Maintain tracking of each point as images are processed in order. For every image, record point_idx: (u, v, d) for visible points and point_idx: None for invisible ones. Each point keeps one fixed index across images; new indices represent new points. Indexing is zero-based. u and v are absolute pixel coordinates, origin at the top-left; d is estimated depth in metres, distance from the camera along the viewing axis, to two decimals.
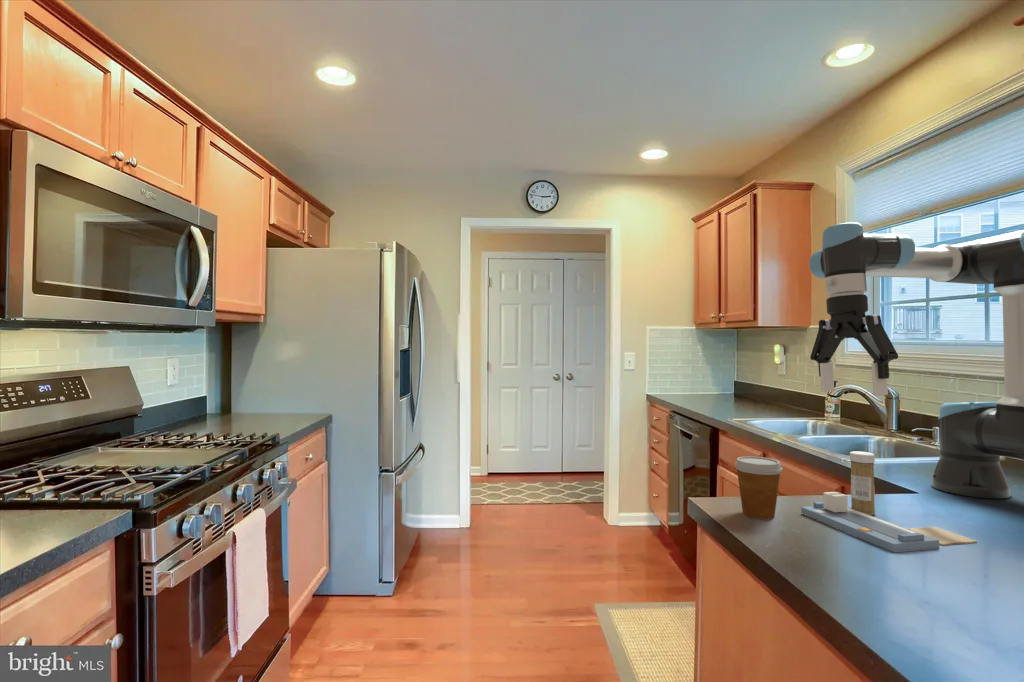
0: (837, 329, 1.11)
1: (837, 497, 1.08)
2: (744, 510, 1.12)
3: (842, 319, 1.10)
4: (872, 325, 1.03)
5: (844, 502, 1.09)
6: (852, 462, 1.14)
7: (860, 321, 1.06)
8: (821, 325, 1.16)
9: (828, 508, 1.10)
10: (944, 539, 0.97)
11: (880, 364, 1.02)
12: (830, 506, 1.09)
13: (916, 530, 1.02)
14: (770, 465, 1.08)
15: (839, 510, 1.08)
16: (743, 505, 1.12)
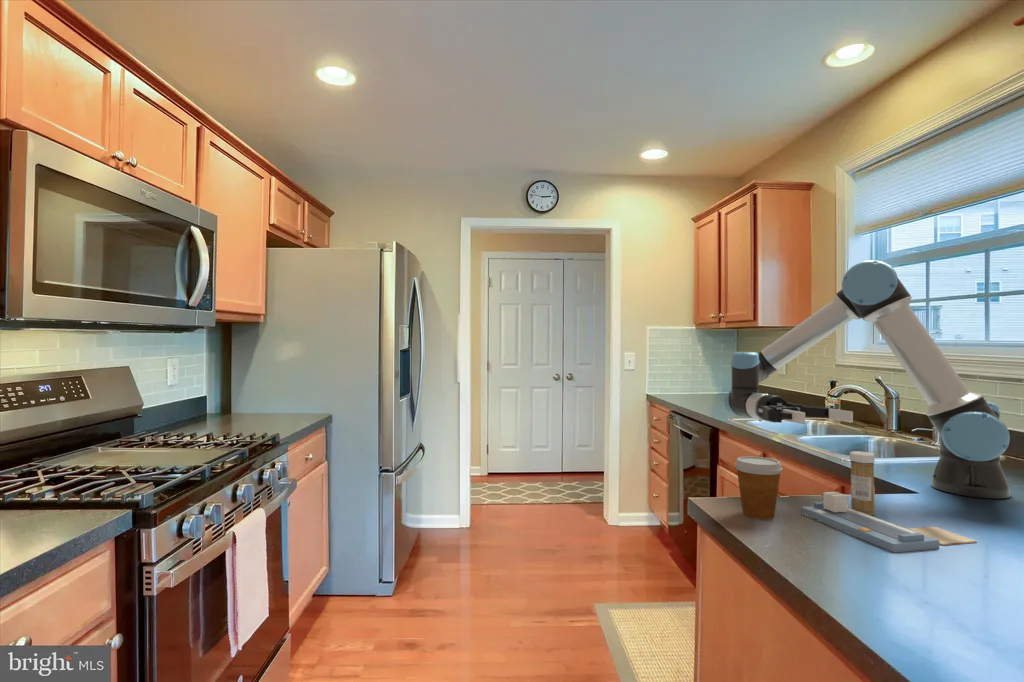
0: None
1: (837, 497, 1.08)
2: (744, 510, 1.12)
3: None
4: (762, 414, 1.36)
5: (844, 502, 1.09)
6: (852, 462, 1.14)
7: None
8: None
9: (828, 508, 1.10)
10: (944, 539, 0.97)
11: (781, 417, 1.28)
12: (830, 506, 1.09)
13: (916, 530, 1.02)
14: (770, 465, 1.08)
15: (839, 510, 1.08)
16: (743, 505, 1.12)
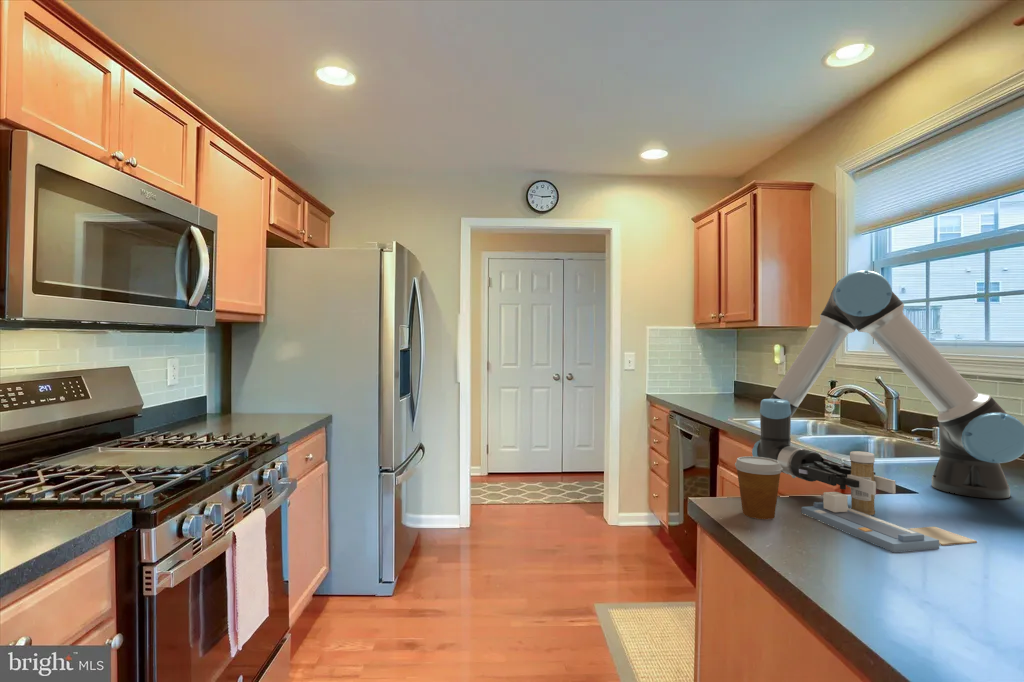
0: None
1: (837, 497, 1.08)
2: (744, 510, 1.12)
3: None
4: (807, 476, 1.22)
5: (844, 502, 1.09)
6: (852, 462, 1.14)
7: None
8: None
9: (828, 508, 1.10)
10: (944, 539, 0.97)
11: None
12: (830, 506, 1.09)
13: (916, 530, 1.02)
14: (770, 465, 1.08)
15: (839, 510, 1.08)
16: (743, 505, 1.12)
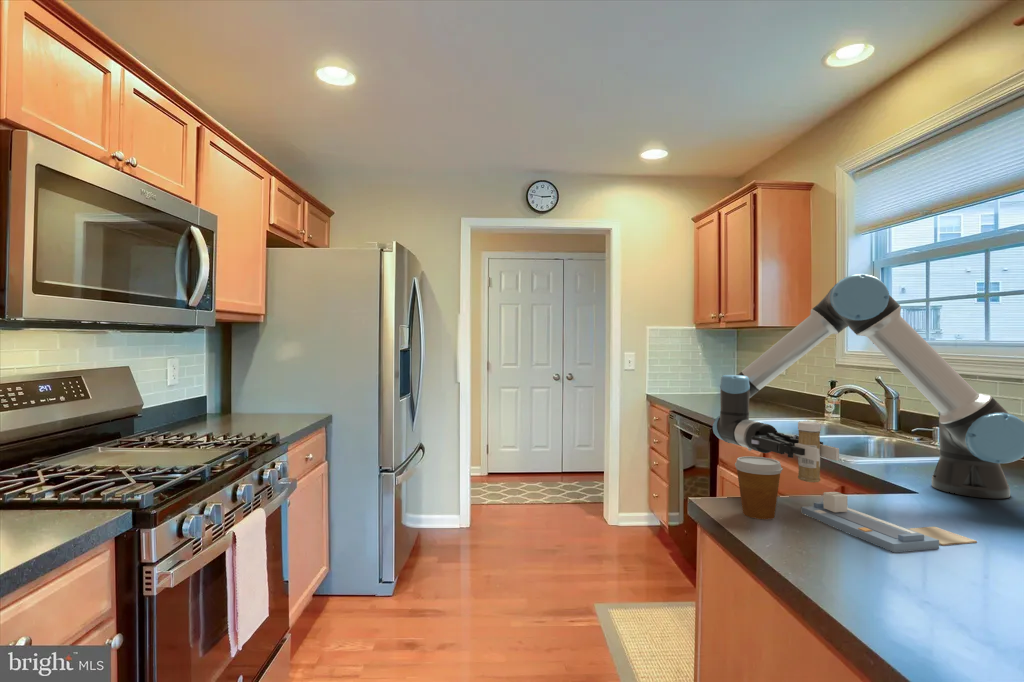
0: None
1: (837, 497, 1.08)
2: (744, 510, 1.12)
3: None
4: (759, 446, 1.25)
5: (844, 502, 1.09)
6: (799, 431, 1.17)
7: None
8: None
9: (828, 508, 1.10)
10: (944, 539, 0.97)
11: None
12: (830, 506, 1.09)
13: (916, 530, 1.02)
14: (770, 465, 1.08)
15: (839, 510, 1.08)
16: (743, 505, 1.12)
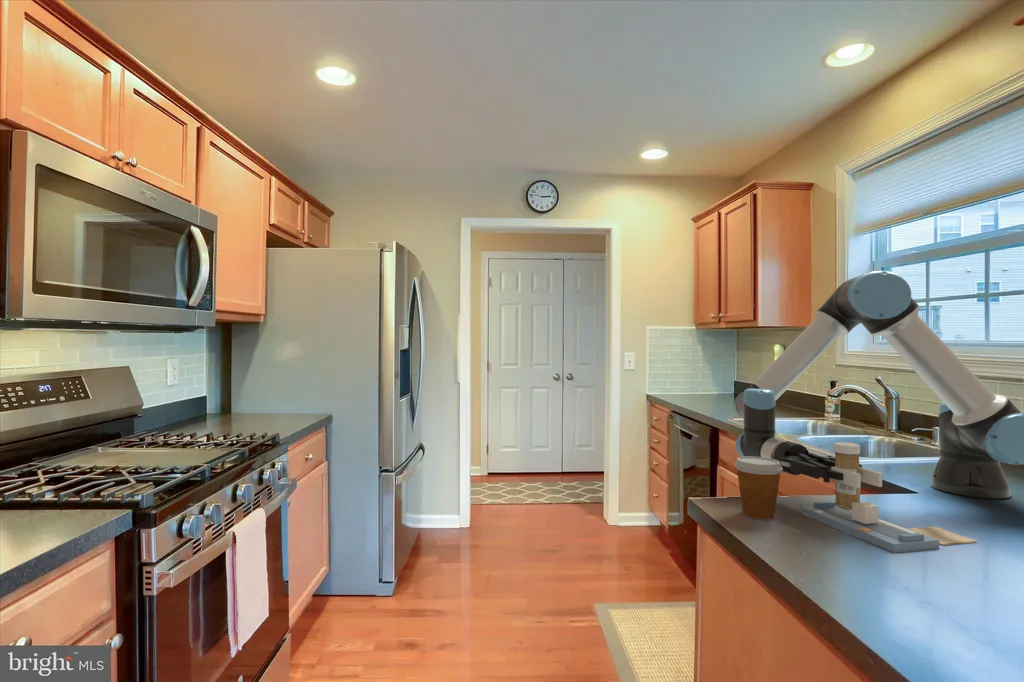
0: None
1: (867, 508, 1.01)
2: (744, 510, 1.12)
3: None
4: (790, 469, 1.14)
5: (875, 513, 1.01)
6: (836, 453, 1.07)
7: None
8: None
9: (857, 519, 1.02)
10: (944, 539, 0.97)
11: None
12: (859, 517, 1.02)
13: (916, 530, 1.02)
14: (770, 465, 1.08)
15: (870, 521, 1.01)
16: (743, 505, 1.12)
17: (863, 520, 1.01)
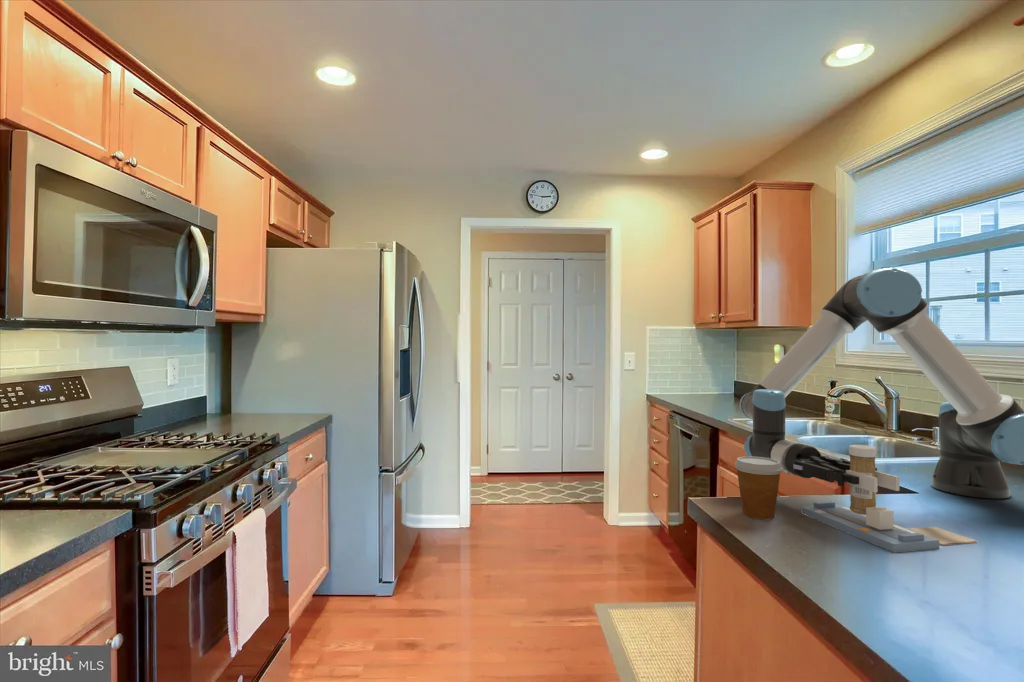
0: None
1: (882, 513, 0.98)
2: (744, 510, 1.12)
3: None
4: (802, 472, 1.11)
5: (890, 518, 0.98)
6: (851, 456, 1.03)
7: None
8: None
9: (872, 525, 0.99)
10: (944, 539, 0.97)
11: None
12: (874, 523, 0.99)
13: (916, 530, 1.02)
14: (770, 465, 1.08)
15: (885, 527, 0.98)
16: (743, 505, 1.12)
17: (878, 526, 0.98)
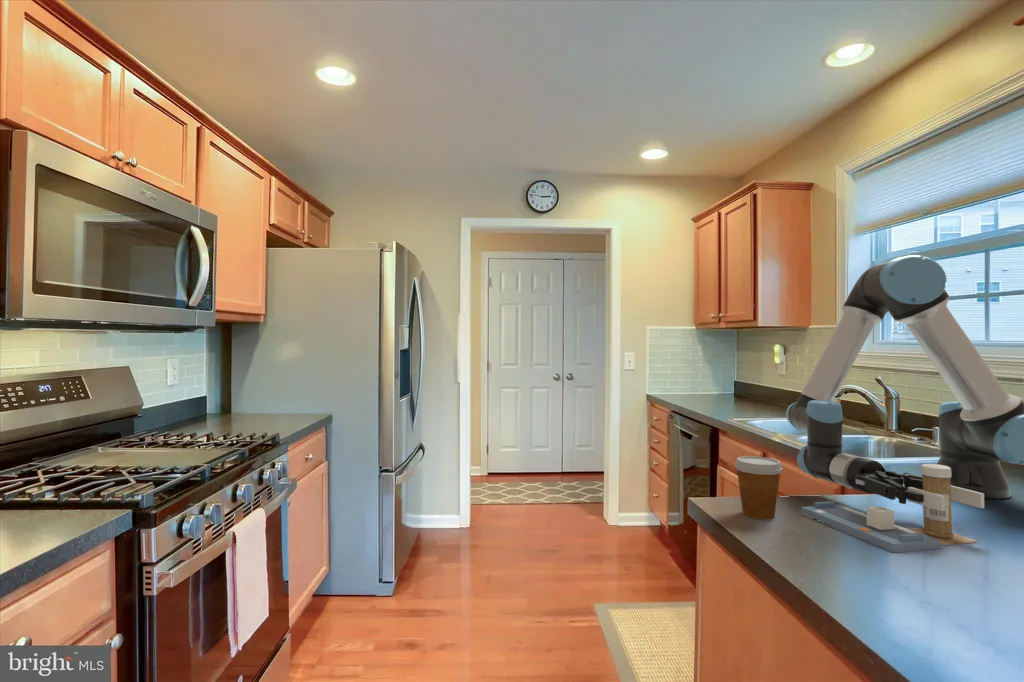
0: None
1: (883, 513, 0.98)
2: (744, 510, 1.12)
3: None
4: (864, 488, 1.08)
5: (891, 518, 0.98)
6: (925, 476, 1.00)
7: None
8: None
9: (872, 525, 0.99)
10: (944, 539, 0.97)
11: None
12: (874, 523, 0.99)
13: (916, 530, 1.02)
14: (770, 465, 1.08)
15: (885, 527, 0.98)
16: (743, 505, 1.12)
17: (878, 526, 0.98)
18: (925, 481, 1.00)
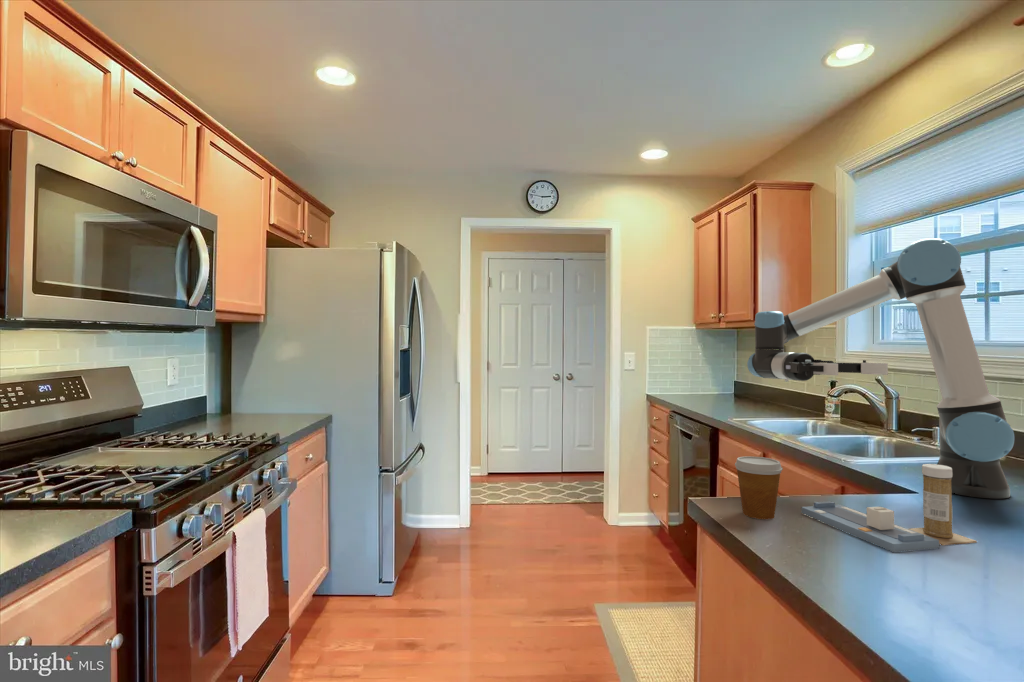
0: None
1: (883, 513, 0.98)
2: (744, 510, 1.12)
3: None
4: (790, 371, 1.30)
5: (891, 518, 0.98)
6: (925, 477, 1.00)
7: None
8: None
9: (872, 525, 0.99)
10: (944, 539, 0.97)
11: (811, 371, 1.22)
12: (874, 523, 0.99)
13: (916, 530, 1.02)
14: (770, 465, 1.08)
15: (885, 527, 0.98)
16: (743, 505, 1.12)
17: (878, 526, 0.98)
18: (926, 481, 0.99)
